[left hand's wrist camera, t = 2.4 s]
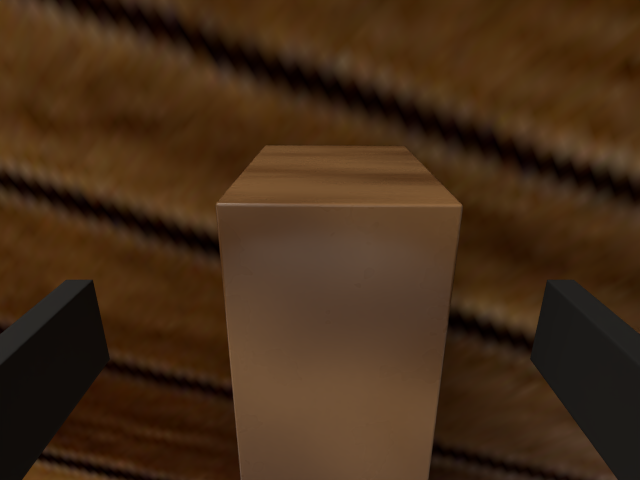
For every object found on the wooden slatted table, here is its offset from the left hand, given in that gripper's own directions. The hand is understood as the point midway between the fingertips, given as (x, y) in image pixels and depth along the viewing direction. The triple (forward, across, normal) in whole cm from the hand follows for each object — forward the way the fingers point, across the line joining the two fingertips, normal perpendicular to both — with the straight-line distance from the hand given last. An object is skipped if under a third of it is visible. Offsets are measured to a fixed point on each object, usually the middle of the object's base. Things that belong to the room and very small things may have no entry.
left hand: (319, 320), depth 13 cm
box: (+8, +1, -10) cm, 13 cm away
